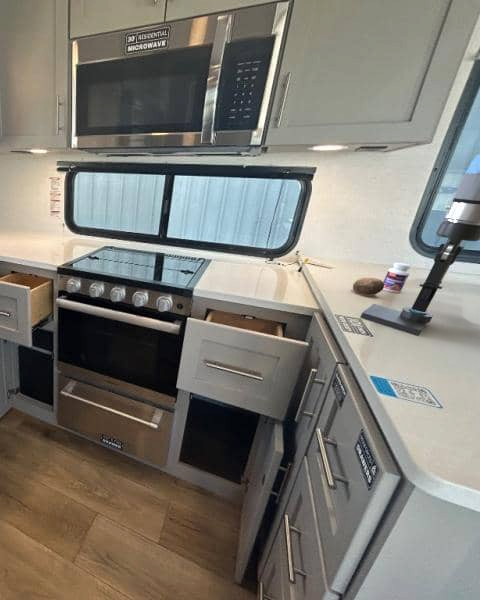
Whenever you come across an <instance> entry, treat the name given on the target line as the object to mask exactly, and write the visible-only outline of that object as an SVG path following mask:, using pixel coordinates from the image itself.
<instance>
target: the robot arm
mask: <svg viewBox="0 0 480 600" xmlns="http://www.w3.org/2000/svg"><path fill="white" fill-rule="evenodd" d="M444 209H445V210H446V213H445V215H444V218H445V219H446V220H442V221H441V222H440V224H439V226H438V229H437V231H436V236H438V237H440V238H441V237H442V238H447V240H446V241H445V243H441V244H439V247H438V248H437V253H436V255H435V257H434V259H433V262H434V263H433V264H432V267H431V269H430V271H429V273H428V275H427V277H426V279H425V281H424V282H423V283H420V284H419V287H421V289H420V291H419V292H418V295H417V296H416V298H415V300H414V303H413V304H412V307H410V308H411V309H413V310H417V311H420V312H424V313H425V312H427V311H428V308H429V306H430V304H431V303H432V300H433V298H434V297H435V295H436V293H437V291H438V289H439V290H442V289H443V285H441V284H442V282H443V279H444V277H445V276H446V274H447V272H448V271H449V269H450V267H451V265H453V264H454V263H455V262H456V260H457V258H458V257H459V255H461V253H462V252H463V250H464V249H465V246H461V245H462V244H463V243H462V242H463V241H466V242H478V241H480V153H478V154H477V155H476V156H475V157H474V159H473V160H472V161H471V163H470V165H469V166H468V168H467V170H466V171H465V173H464V175H463V178H462V180H461V183H460V184H459V186H458V189H457V190H456V193H455V195H454V197H453V199H452V201H451V204H450V205H446V206H445V207H444Z"/></svg>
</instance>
